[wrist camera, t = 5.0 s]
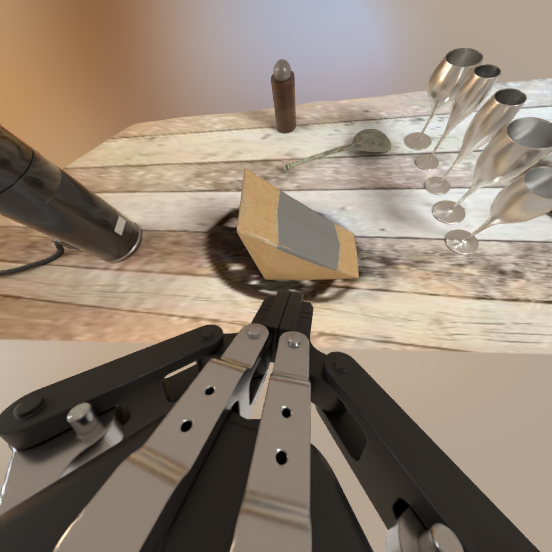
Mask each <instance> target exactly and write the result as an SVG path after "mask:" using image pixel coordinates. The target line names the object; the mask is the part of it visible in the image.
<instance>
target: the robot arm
mask: <svg viewBox="0 0 552 552" xmlns="http://www.w3.org/2000/svg"><path fill="white" fill-rule="evenodd" d="M0 215H2V216H5V217H7V218H10V219H12V220H14V221H16V222H19V223H21V224H23V225H26V226H28V227H30V228H32V229H35V230H37V231H39V232H41V233H44V234H46V235H48V236H51V237H53V239H52V240H51V241H53V242H55V246H56V248H57V252H56V253H55V254H53V255H52V256H50V257H48V258H46V259H43V260H41V261H37V262H34V263H31V264H27V265H24V266H21V267H18V268H14V269H9V270H3V271H0V275H7V274H12V273H16V272H20V271H24V270H27V269H30V268H33V267H37V266H40V265H43V264H46V263H49V262H51V261H53V260H55V259H57V258H58V257H60V256H61V255H62V254H63V252H64V248H63V246H65V247H67V248H69V249H76V250H82V251H85V252H87V253H89V254H91V255H94V256H96V257H98V258H100V259H102V260H104V261H106V262H109V263H116V262H120V261H123V260H125V259H127V258H128V257H129V256H131V255H132V254H133V253H134V252H135V251H136V250H137V248H138V247H139V245H140V242H141V239H142V231H141V228H140V227H139V226H138V225H137V224H136V223H134V222H133V221H131V220H129V219H128V218H127V217H125V216H124V215H123V214H121V213H120V212H119V211H117V210H116V209H115V208H113V207H112V206H111V205H109V204H108V203H107V202H105V201H104V200H103V199H101V198H100V197H98V196H97V195H96V194H94V193H93V192H92V191H90V190H89V189H88V188H86V187H85V186H84V185H82V184H81V183H79V182H78V181H77V180H75V179H74V178H73V177H71V176H70V175H69V174H67V173H66V172H64V171H63V170H62V169H60V168H59V167H57V166H56V165H55V164H53V163H52V162H51V161H49V160H48V159H47V158H45V157H44V156H43V155H41V154H40V153H38V152H37V151H36V150H34V149H33V148H32V147H30V146H29V145H28V144H26V143H25V142H23V141H22V140H21V139H19V138H18V137H17V136H15V135H14V134H12V133H11V132H10V131H8V130H7V129H6V128H5V127H3V126H2V125H1V124H0ZM302 300H303V293H299V292H291V291H286V290H279V291H278V293H277V295H276V297H274V296H269V297H267V298H266V299H264V301H263V303H262V305H261V306H260V308H259V310H258V312H257V314H256V315H255V317H254V319H253V321H252V323H251V324H248V325H246V326H244V327H243V328H242V329H241V330H240V332H239V333H230V334H223V331H222V329H221V328H220V327H219V326H217V325H205V326H202V327H199V328H197V329H194V330H191V331H189V332H186V333H184V334H181V335H178V336H176V337H173V338H171V339H168V340H165V341H163V342H160V343H158V344H155V345H152V346H150V347H147V348H145V349H142V350H140V351H137V352H134V353H132V354H129V355H127V356H124V357H121V358H119V359H116V360H114V361H111V362H108V363H106V364H104V365H101V366H98V367H95V368H93V369H90V370H88V371H85V372H82V373H80V374H77V375H75V376H72V377H69V378H67V379H64V380H62V381H59V382H56V383H54V384H51V385H49V386H46V387H43V388H41V389H38V390H36V391H34V392H31V393H29V394H27V395H25V396H23V397H22V398H20V399H18V400H17V401H15V402H14V403H13V404H11V405H10V406H9V407H8V408H6V409H5V410H4V411H3V412H2V413H1V414H0V436H1V437H2V438H3V439H4V440H5V441H6V442H7V443H8V444H9V447H10V449H11V450H12V452H13V453H12V457H11V460H10V463H9V466H8V470H7V473H6V476H5V479H4V482H3V485H2V489H1V492H0V552H373V550H372V548H371V546H370V544H369V542H368V540H367V538H366V536H365V534H364V532H363V530H362V528H361V526H360V524H359V522H358V520H357V518H356V516H355V514H354V512H353V510H352V508H351V506H350V504H349V502H348V500H347V498H346V496H345V494H344V492H343V490H342V488H341V486H340V484H339V482H338V480H337V478H336V476H335V474H334V472H333V470H332V468H331V467H330V465H329V464H328V462H327V460H326V459H325V458H324V457H323V455H322V454H321V453H320V452H319V450H318V449H317V448H316V447H315V446H314V445H312V444H311V443H310V431H311V429H310V428H311V427H310V426H311V423H310V422H311V402H312V403H314V404H315V406H316V410H317V412H318V413H319V415H320V417H321V418H322V420H323V422H324V424H325V425H326V427H327V429H328V430H329V432H330V434H331V435H332V437H333V439H334V440H335V442H336V444H337V445H338V447H339V448H340V450H341V452H342V454H343V455H344V457H345V459H346V460H347V462H348V464H349V465H350V467H351V469H352V470H353V472H354V474H355V475H356V477H357V479H358V480H359V482H360V484H361V485H362V487H363V489H364V490H365V492H366V494H367V495H368V497H369V499H370V501H371V502H372V504H373V505H374V507H375V509H376V510H377V512H378V514H379V516H380V517H381V519H382V521H383V522H384V524H385V526H386V527H387V529H388V533H387V536H386V552H540V551H539V550H538V549H537V548H536V547H535V546H534V545H533V544H532V543H531V542H530V541H529V540H528V539H527V538H526V537H525V536H524V535H523V534H522V533H521V532H520V531H519V529H518V528H517V527H515V525H514V524H513V523H512V522H511V521H510V520H509V519H508V518H507V517H506V516H505V515H504V514H503V513H502V512H501V511H500V510H499V509H498V508H497V507H496V506H495V505H494V504H493V503H492V502H491V501H490V499H489V498H488V497H487V496H486V495H485V494H484V493H483V492H482V491H481V490H480V489H479V488H478V487H477V486H476V485H475V484H474V483H473V482H472V481H471V480H470V479H469V478H468V477H467V476H466V475H465V474H464V473H463V472H462V471H461V469H460V468H459V467H458V466H457V465H456V464H455V463H454V462H453V461H452V460H451V459H450V458H449V457H448V456H447V455H446V454H445V453H444V452H443V451H442V450H441V449H440V448H439V447H438V446H437V445H436V444H435V443H434V442H433V441H432V439H431V438H430V437H429V436H428V435H427V434H426V433H425V432H424V431H423V430H422V429H421V428H420V427H419V426H418V425H417V424H416V423H415V422H414V421H413V420H412V419H411V418H410V417H409V416H408V415H407V414H406V413H405V412H404V410H402V409H401V407H400V406H399V405H398V404H397V403H396V402H395V401H394V400H393V399H392V398H391V397H390V396H389V395H388V394H387V393H386V392H385V391H384V390H383V389H382V388H381V387H380V386H379V385H378V384H377V383H376V382H375V380H373V378H372V377H371V376H370V375H368V373H367V372H366V371H365V370H364V369H363V368H362V367H361V366H360V365H359V364H358V363H357V362H356V361H355V360H354V359H353V358H352V357H351V356H349V355H347V354H345V353H342V352H331V353H329V354H328V355H325V354H324V353H321V352H320V351H318V350H317V349H316V348H314V346H313V345H312V344H311V342H310V332H311V324H312V315H313V306H312V305H311V303H310V302H304V301H302ZM195 361H196V365H194V366H192V367H190V368H188V369H186V370H183V371H181V372H179V373H177V374H175V375H173V376H171V377H169V378H164V377H165V376H166V375H168V374H170V373H172V372H174V371H176V370H178V369H180V368H182V367H184V366H186V365H188V364H190V363H192V362H195ZM270 362H273V363H274V368H273V372H272V374H271V375H270V379H269V383H268V388H267V392H266V397H265V402H264V406H263V411H262V416H261V419H250V416H251V412H252V409H253V407H254V405H255V402H256V400H257V397H258V395H259V392H260V390H261V388H262V385H263V383H264V380H265V378H266V375H267V370H268V367H269V364H270Z"/></svg>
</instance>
